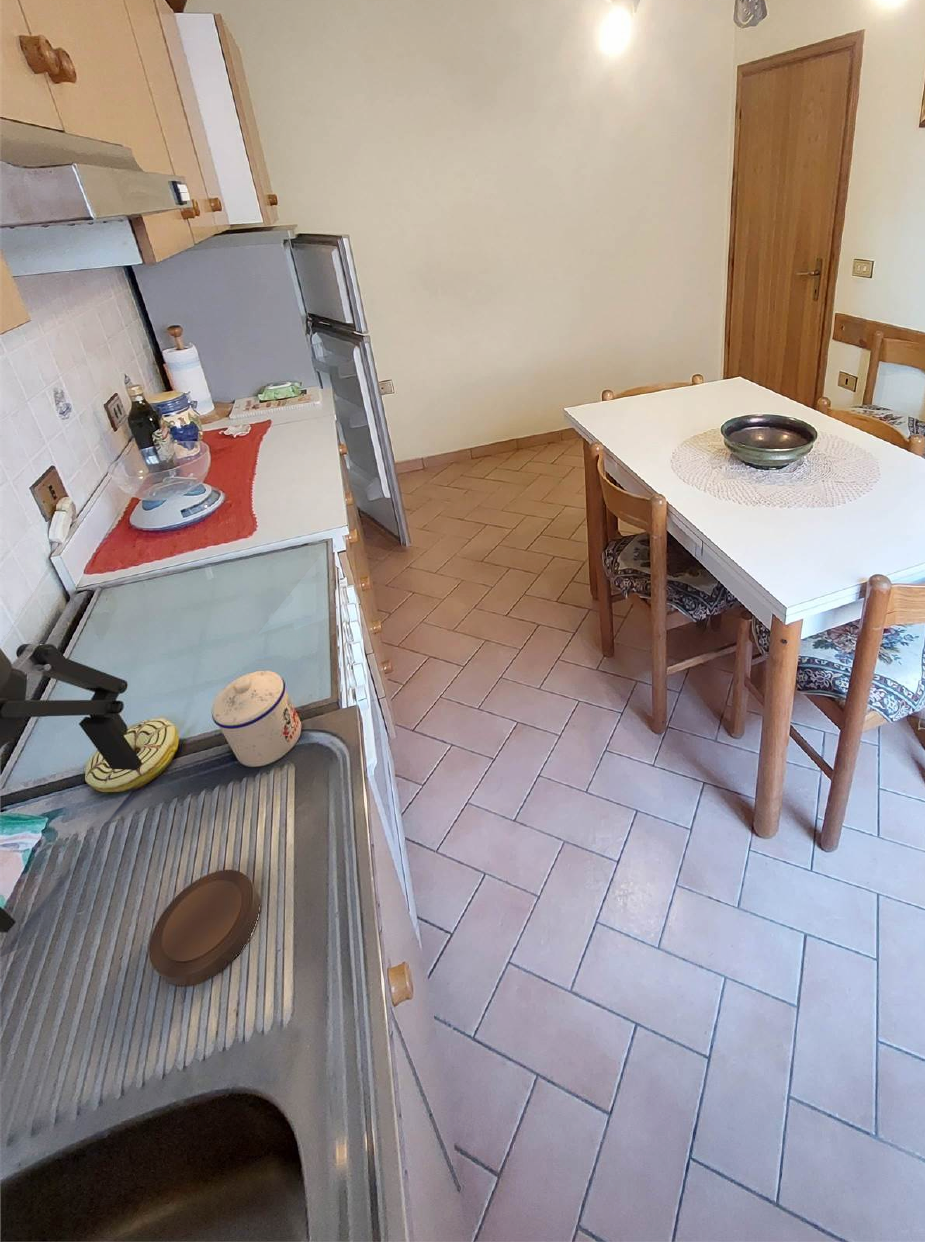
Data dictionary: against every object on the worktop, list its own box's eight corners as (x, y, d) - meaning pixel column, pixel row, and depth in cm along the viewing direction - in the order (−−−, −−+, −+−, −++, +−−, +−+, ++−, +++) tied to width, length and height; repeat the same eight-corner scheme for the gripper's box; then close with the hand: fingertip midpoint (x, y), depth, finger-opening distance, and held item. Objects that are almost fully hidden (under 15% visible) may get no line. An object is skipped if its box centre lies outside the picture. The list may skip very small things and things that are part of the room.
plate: (135, 980, 63) (124, 969, 62) (200, 876, 71) (192, 864, 70) (223, 992, 61) (214, 981, 60) (278, 884, 70) (272, 872, 69)
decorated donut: (127, 733, 90) (115, 716, 89) (198, 729, 90) (187, 711, 88) (75, 802, 81) (61, 784, 79) (154, 797, 81) (142, 779, 79)
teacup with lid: (307, 749, 85) (279, 691, 80) (235, 781, 82) (201, 722, 76) (298, 690, 95) (273, 634, 89) (234, 717, 91) (203, 660, 86)
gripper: (-268, 845, 32) (-33, 1023, 42) (103, 552, 54) (199, 717, 64) (-379, 838, 33) (-124, 1013, 43) (29, 553, 55) (135, 715, 65)
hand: (69, 837), depth 54 cm, fingers open, 13 cm apart
